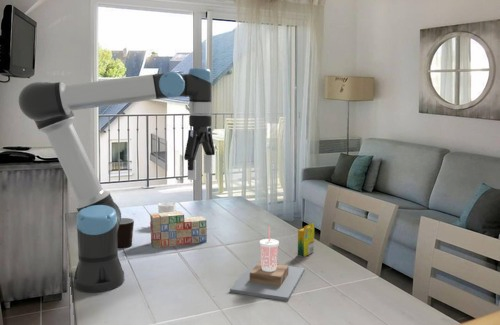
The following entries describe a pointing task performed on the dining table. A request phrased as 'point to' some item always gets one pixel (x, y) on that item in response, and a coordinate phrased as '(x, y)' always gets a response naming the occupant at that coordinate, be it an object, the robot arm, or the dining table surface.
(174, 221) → the stack of blocks
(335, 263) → the dining table surface
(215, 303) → the dining table surface
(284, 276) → the walnut pedestal
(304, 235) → the crayon box
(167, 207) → the white cup
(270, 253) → the beverage cup
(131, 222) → the coffee mug
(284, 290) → the base board
